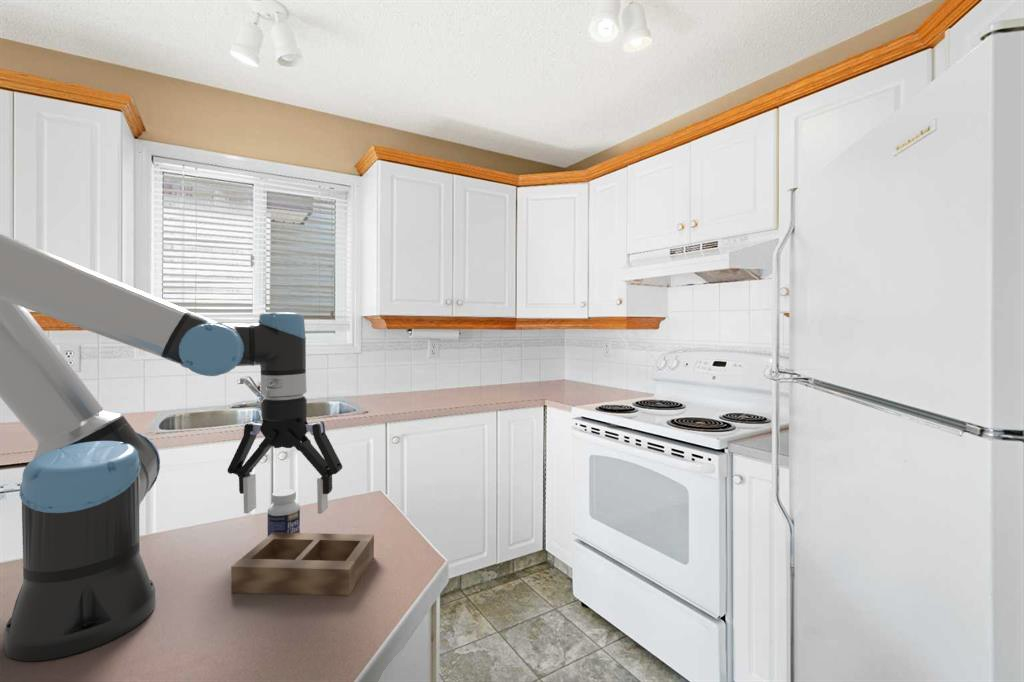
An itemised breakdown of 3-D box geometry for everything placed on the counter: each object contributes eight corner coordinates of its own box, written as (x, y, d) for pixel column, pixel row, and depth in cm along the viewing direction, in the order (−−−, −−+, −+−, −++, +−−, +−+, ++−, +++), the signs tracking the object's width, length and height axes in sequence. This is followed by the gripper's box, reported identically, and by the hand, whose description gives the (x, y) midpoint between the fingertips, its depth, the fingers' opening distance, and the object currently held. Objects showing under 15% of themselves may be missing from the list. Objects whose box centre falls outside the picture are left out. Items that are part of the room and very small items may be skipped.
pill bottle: (291, 551, 85) (291, 497, 85) (261, 551, 85) (261, 497, 85) (304, 538, 91) (304, 487, 90) (276, 537, 91) (276, 487, 90)
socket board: (231, 592, 72) (231, 566, 72) (272, 554, 84) (272, 532, 84) (349, 595, 72) (349, 569, 72) (373, 557, 84) (373, 534, 84)
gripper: (203, 399, 84) (206, 518, 84) (344, 400, 83) (345, 519, 84) (229, 393, 91) (232, 502, 92) (358, 393, 91) (360, 503, 91)
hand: (286, 510), depth 88 cm, fingers open, 13 cm apart
